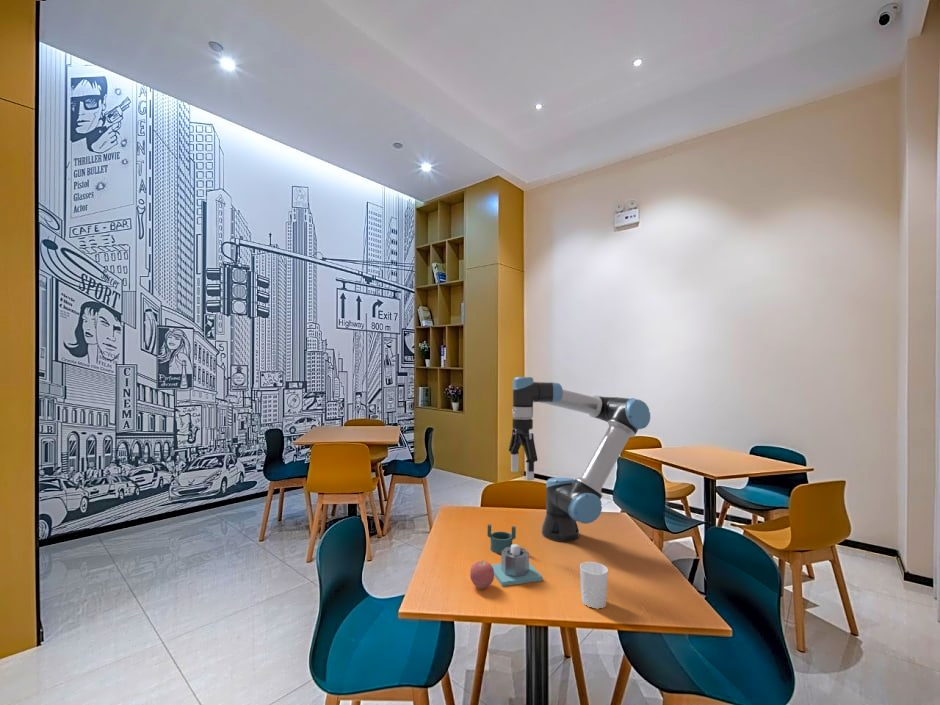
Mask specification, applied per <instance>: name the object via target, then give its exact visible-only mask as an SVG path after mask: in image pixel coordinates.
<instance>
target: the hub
mask: <svg viewBox="0 0 940 705" xmlns="http://www.w3.org/2000/svg"><path fill="white" fill-rule="evenodd" d="M509 552H511V547H506V548H505V549H504V550H502V554H500V555H501V560H500V561H501V563H500V564H501V570H502V571H503V573H504V574H505V575H508V576H512V577H522V576H526V574H527V573H528V572H529V563H530V552H529V551H528V550H527V549H525V548H524V547H523V548H522V547H520V555H518V556H514V555H510V554H509Z"/></svg>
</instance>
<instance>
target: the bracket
mask: <svg viewBox="0 0 940 705" xmlns="http://www.w3.org/2000/svg"><path fill="white" fill-rule="evenodd" d="M516 528H517V526H514V525H512V526H511V533H510V532H506V531H493V532H492V524H487V533H486V534H487V537H488V538H490V551H491V552H492V553H494V554H496V555H497V554H498V555H501V554H502V550H504V549H505V548H506V547H511V545H512V544H513V541H514V540H515V539H516V538H517V537H516V535H517V534H516V533H517V530H516Z"/></svg>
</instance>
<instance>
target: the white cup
mask: <svg viewBox="0 0 940 705" xmlns="http://www.w3.org/2000/svg"><path fill="white" fill-rule="evenodd" d="M579 572H580V574H579V578H580V592H581V602H582V604H583V605H584V604H585V605H584V606H586V605H587V606H590V607H593V608H602V607H604V608H605V607H606V606H607V596H608V595H607V594H608V581H609V580H608V579H609V578H608V577H609V569H608V567H607V566H606V565H604V564H602V563H600V562H599V563H598V562H595V561H584V562H582V563H580V565H579ZM587 606H586V607H587ZM602 609H603V608H602Z"/></svg>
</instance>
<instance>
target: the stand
mask: <svg viewBox="0 0 940 705" xmlns="http://www.w3.org/2000/svg"><path fill="white" fill-rule="evenodd" d="M520 548H521V545H520V544H517V543H512V545H511V552H509V554H510V555H514V556H518V555H520ZM491 565H492V567H493V569H494V578H495V579H496V580H497V581H498V582H499V584H500V585H501V586H502V587H507V586H512V585H520V584H526V583H534V582H540V581H543V579H544V578H543V575H542V574H541V573H540V572H539V571H538V570H537V569H536V568H535V567H534V566H533V565H532V564H531V563H530V562H529V572H528V573H527V574H526V576H522V577H512V576H508V575H505V574H504V573H503V571H502V570H501V563H496V564H495V563H494V564H491Z"/></svg>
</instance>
